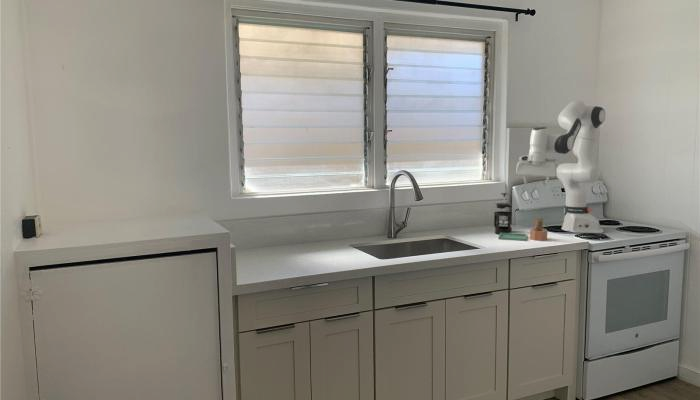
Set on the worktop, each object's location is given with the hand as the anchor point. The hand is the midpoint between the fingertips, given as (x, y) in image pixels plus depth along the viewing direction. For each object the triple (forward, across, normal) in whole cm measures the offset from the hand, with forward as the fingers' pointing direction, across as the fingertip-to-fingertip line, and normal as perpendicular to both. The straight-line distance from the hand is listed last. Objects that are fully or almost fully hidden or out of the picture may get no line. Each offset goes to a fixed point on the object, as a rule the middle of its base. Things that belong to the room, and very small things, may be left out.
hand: (535, 184), depth 280 cm
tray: (+30, +9, +1) cm, 32 cm away
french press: (+30, +18, -15) cm, 38 cm away
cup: (+30, -4, -1) cm, 30 cm away
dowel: (+29, -4, -1) cm, 29 cm away
